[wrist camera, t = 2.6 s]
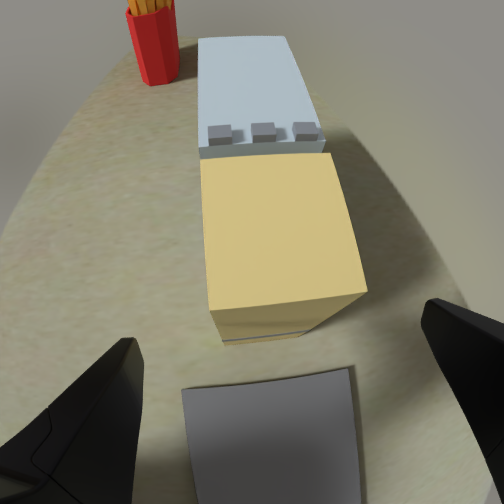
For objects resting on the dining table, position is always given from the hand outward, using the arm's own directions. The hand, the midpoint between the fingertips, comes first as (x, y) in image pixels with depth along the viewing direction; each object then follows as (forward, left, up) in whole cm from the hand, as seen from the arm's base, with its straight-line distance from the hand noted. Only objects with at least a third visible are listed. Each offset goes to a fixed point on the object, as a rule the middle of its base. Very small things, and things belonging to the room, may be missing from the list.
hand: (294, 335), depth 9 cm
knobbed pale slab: (+9, +4, -10) cm, 15 cm away
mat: (-7, -3, -10) cm, 13 cm away
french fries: (+23, +18, -11) cm, 31 cm away
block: (+3, +1, -10) cm, 11 cm away
